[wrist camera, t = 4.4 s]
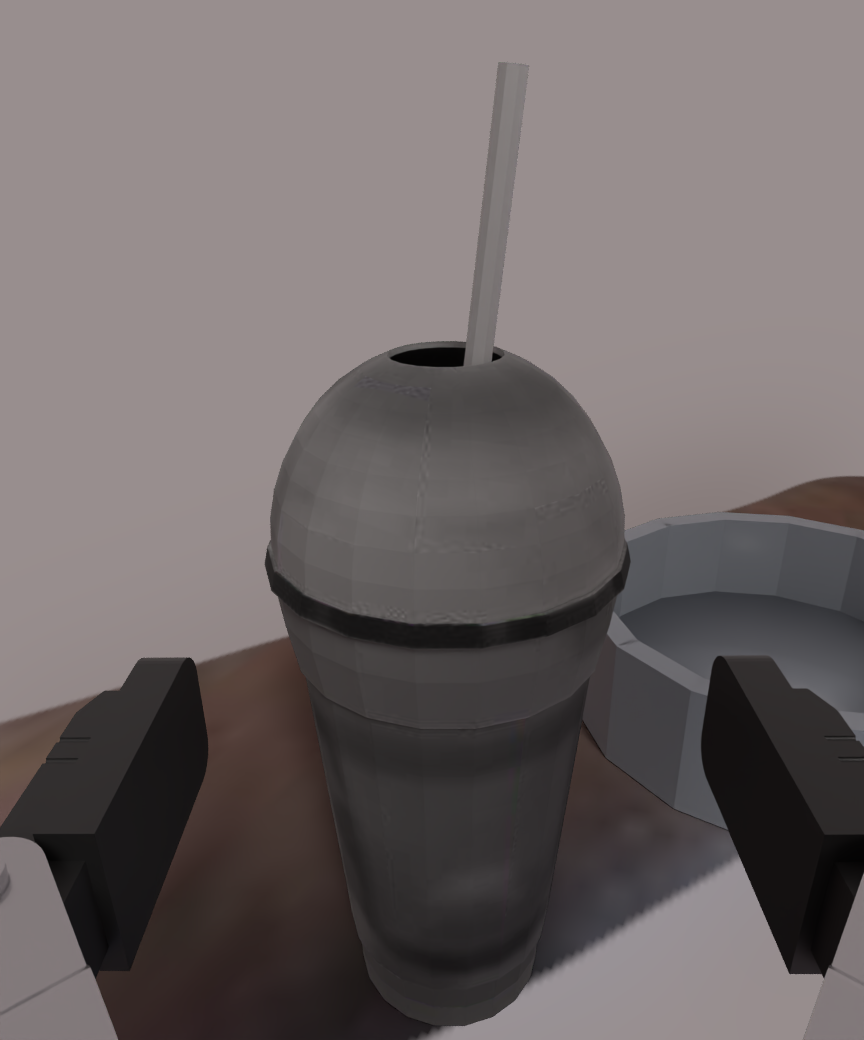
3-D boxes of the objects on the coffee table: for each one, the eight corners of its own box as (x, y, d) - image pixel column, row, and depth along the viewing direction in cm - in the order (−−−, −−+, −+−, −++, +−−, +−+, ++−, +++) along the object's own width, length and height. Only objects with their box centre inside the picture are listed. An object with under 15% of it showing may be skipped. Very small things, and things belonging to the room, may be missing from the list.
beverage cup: (398, 803, 25) (369, 93, 17) (624, 890, 22) (722, 72, 14) (249, 998, 19) (98, 60, 11) (528, 1154, 16) (599, 12, 8)
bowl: (1002, 664, 32) (1036, 564, 30) (1008, 940, 21) (1063, 808, 19) (646, 574, 39) (655, 489, 37) (508, 743, 28) (511, 633, 26)
